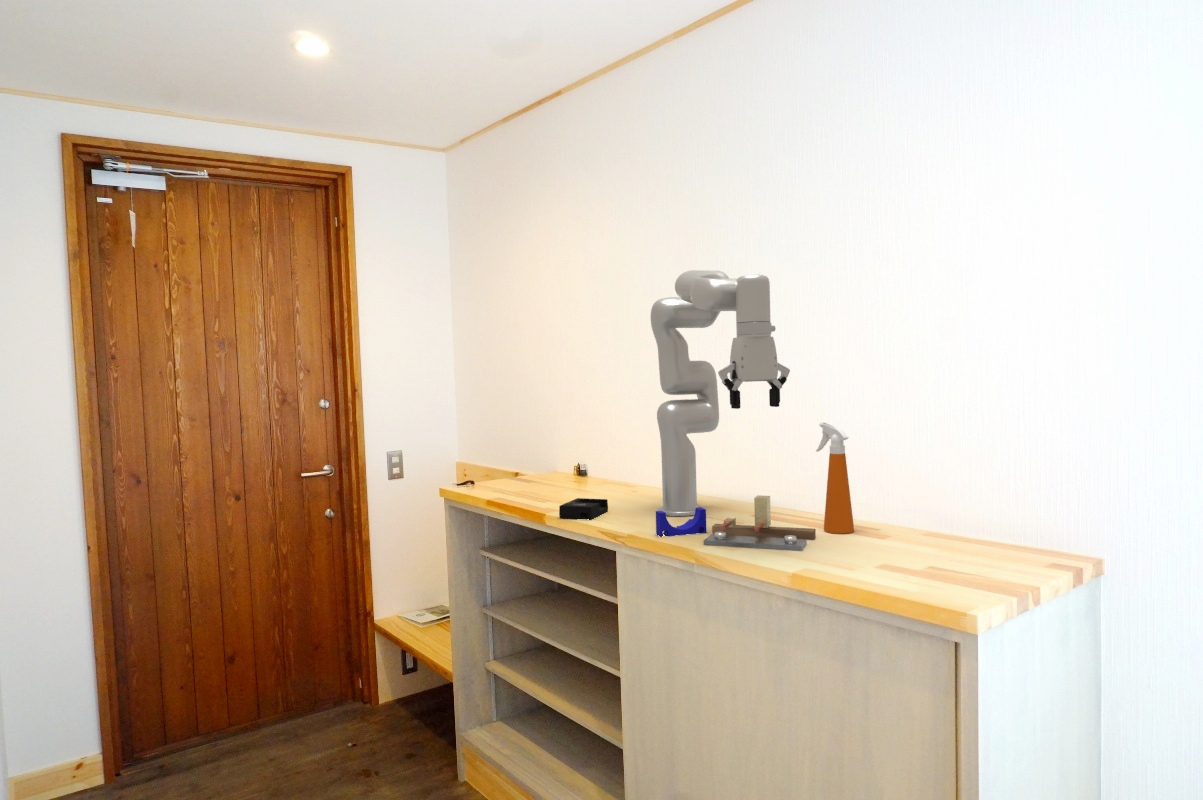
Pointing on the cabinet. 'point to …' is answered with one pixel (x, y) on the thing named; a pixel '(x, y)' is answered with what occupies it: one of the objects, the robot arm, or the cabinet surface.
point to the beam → (762, 530)
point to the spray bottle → (836, 483)
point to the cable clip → (688, 528)
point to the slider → (762, 512)
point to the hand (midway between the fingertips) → (755, 407)
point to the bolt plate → (756, 541)
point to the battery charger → (583, 508)
